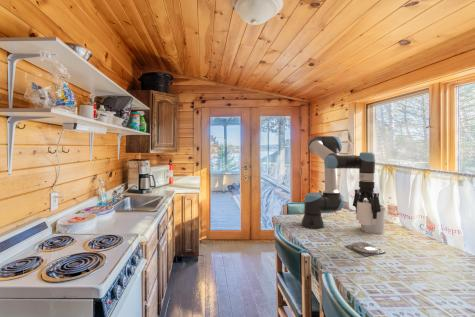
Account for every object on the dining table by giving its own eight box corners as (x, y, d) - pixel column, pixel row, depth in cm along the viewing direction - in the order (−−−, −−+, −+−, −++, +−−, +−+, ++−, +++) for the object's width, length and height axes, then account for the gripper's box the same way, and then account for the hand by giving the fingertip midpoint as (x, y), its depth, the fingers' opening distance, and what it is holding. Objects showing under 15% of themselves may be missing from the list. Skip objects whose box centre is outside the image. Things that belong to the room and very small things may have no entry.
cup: (377, 226, 129) (378, 204, 128) (359, 225, 131) (359, 203, 130) (371, 221, 138) (372, 200, 137) (354, 220, 139) (355, 199, 139)
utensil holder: (380, 235, 157) (380, 208, 156) (356, 229, 168) (356, 204, 167) (388, 230, 167) (388, 205, 166) (365, 225, 178) (365, 201, 177)
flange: (345, 246, 139) (345, 243, 139) (363, 243, 144) (363, 240, 144) (365, 256, 126) (366, 253, 126) (385, 252, 130) (385, 250, 130)
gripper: (346, 178, 142) (345, 217, 143) (379, 183, 122) (378, 228, 123) (356, 178, 145) (355, 216, 145) (390, 183, 125) (388, 227, 125)
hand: (365, 222), depth 134 cm, fingers closed on cup, 9 cm apart
